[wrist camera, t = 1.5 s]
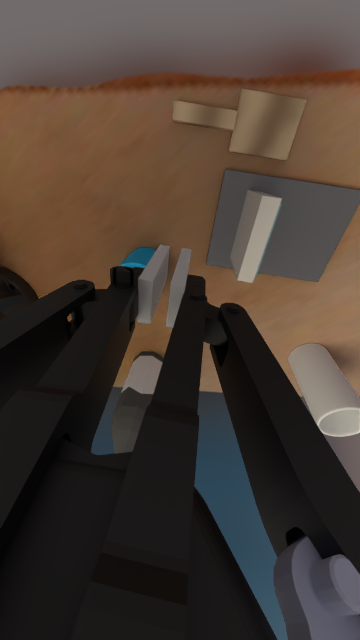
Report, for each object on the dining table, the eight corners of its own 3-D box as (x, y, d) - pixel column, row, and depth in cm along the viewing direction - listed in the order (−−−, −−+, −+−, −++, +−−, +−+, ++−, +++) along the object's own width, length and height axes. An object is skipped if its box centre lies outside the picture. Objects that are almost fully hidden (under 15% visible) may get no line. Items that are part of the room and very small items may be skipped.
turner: (172, 141, 30) (170, 140, 29) (177, 80, 27) (176, 75, 26) (284, 160, 30) (287, 160, 29) (303, 101, 27) (308, 98, 26)
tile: (230, 256, 37) (237, 280, 29) (247, 189, 32) (262, 195, 23) (244, 259, 37) (255, 283, 29) (264, 192, 32) (285, 198, 23)
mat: (206, 262, 39) (206, 264, 39) (224, 169, 32) (225, 169, 31) (314, 279, 39) (317, 282, 38) (361, 190, 31) (366, 191, 30)
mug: (128, 241, 39) (112, 255, 32) (172, 254, 39) (166, 270, 33) (122, 298, 46) (108, 319, 39) (160, 308, 46) (152, 331, 39)
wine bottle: (131, 368, 57) (75, 515, 33) (137, 346, 53) (77, 499, 28) (161, 376, 58) (127, 527, 33) (169, 356, 54) (138, 513, 29)
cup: (282, 351, 49) (311, 417, 36) (321, 337, 46) (367, 403, 33) (295, 373, 53) (325, 440, 40) (332, 361, 50) (377, 430, 36)
